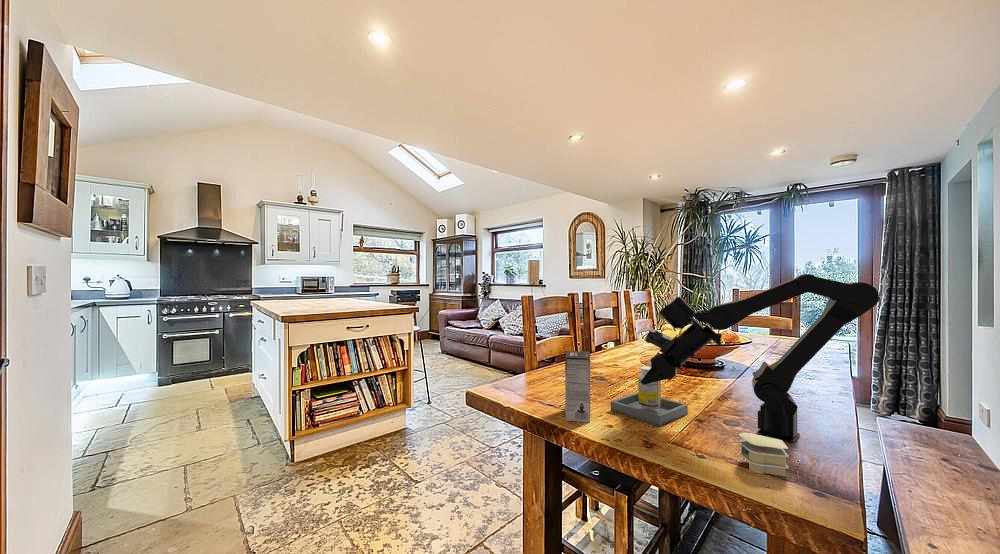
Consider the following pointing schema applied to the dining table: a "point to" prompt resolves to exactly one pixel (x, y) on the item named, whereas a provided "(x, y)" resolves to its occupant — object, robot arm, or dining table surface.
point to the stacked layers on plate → (764, 454)
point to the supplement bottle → (649, 392)
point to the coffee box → (577, 386)
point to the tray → (649, 410)
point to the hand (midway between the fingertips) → (644, 380)
